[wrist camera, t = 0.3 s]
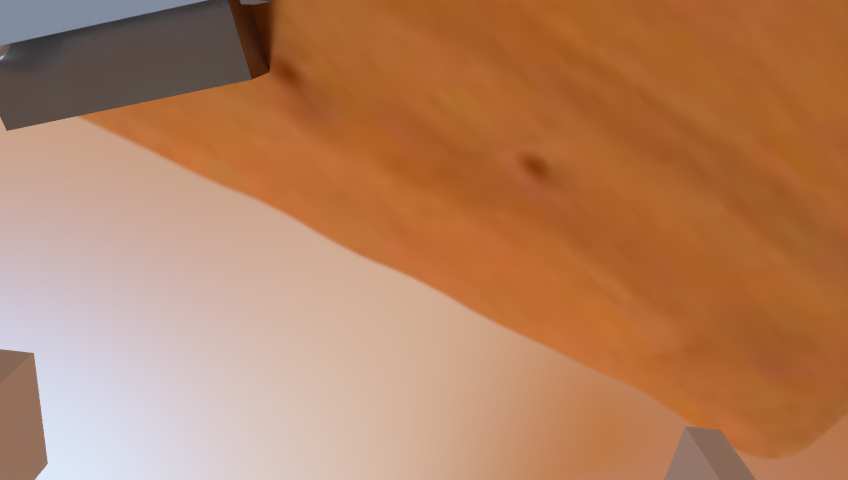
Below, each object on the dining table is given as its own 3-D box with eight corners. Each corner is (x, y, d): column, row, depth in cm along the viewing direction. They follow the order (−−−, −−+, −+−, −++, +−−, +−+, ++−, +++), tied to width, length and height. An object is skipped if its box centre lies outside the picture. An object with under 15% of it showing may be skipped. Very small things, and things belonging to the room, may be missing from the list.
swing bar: (-68, 88, 29) (-109, 94, 26) (-116, -6, 27) (-163, -7, 25) (274, 14, 28) (262, 14, 25) (246, -88, 26) (231, -97, 24)
